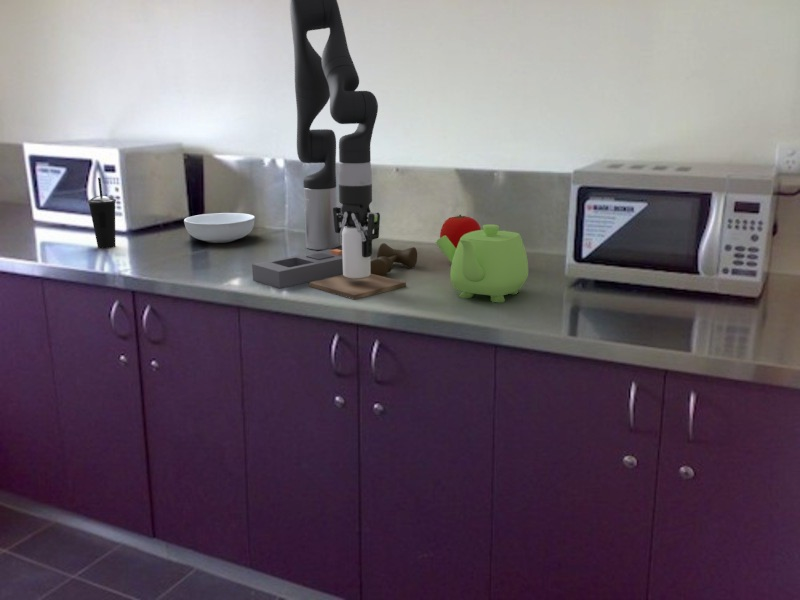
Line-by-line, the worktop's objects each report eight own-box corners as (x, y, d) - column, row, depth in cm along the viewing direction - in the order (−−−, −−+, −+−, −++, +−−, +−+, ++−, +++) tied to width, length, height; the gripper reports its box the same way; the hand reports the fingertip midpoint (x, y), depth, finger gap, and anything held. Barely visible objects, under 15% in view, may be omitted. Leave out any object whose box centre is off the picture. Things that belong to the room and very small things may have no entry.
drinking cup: (126, 245, 230) (119, 177, 225) (104, 250, 224) (96, 180, 219) (109, 243, 234) (101, 175, 229) (87, 247, 228) (79, 178, 223)
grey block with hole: (330, 264, 207) (329, 246, 205) (357, 271, 199) (357, 252, 198) (252, 280, 191) (251, 260, 189) (279, 288, 183) (278, 268, 182)
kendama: (358, 278, 194) (389, 259, 211) (394, 283, 190) (423, 263, 208) (358, 255, 192) (389, 237, 210) (394, 259, 189) (423, 241, 206)
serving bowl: (266, 235, 246) (265, 213, 244) (238, 248, 226) (237, 225, 224) (205, 232, 250) (203, 210, 248) (172, 245, 231) (170, 222, 229)
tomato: (487, 266, 203) (488, 217, 199) (447, 269, 200) (448, 219, 197) (472, 257, 213) (473, 210, 210) (434, 259, 211) (435, 212, 207)
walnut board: (360, 274, 195) (360, 270, 195) (405, 286, 184) (405, 282, 184) (309, 286, 184) (309, 282, 184) (354, 299, 173) (353, 295, 173)
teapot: (456, 277, 193) (458, 212, 188) (540, 288, 182) (543, 220, 178) (405, 301, 172) (405, 229, 168) (495, 315, 161) (498, 239, 157)
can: (367, 280, 180) (366, 228, 177) (339, 278, 181) (338, 227, 178) (373, 273, 186) (372, 223, 183) (347, 272, 187) (345, 222, 184)
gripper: (389, 183, 175) (389, 256, 180) (347, 178, 185) (349, 247, 190) (363, 186, 170) (365, 262, 175) (322, 180, 180) (324, 252, 185)
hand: (356, 254), depth 182 cm, fingers closed on can, 6 cm apart
